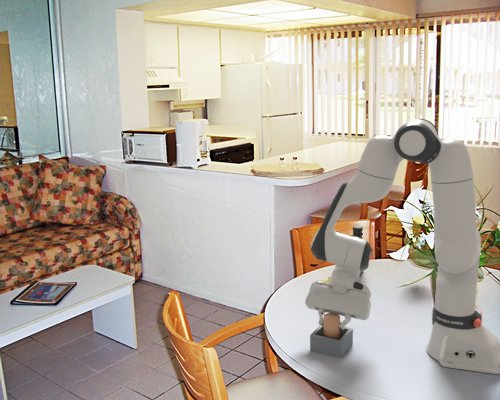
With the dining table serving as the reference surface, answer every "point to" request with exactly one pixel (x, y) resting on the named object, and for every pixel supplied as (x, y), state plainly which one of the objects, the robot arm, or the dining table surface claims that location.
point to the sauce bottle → (357, 231)
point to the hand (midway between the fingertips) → (331, 326)
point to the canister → (331, 326)
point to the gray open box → (331, 342)
